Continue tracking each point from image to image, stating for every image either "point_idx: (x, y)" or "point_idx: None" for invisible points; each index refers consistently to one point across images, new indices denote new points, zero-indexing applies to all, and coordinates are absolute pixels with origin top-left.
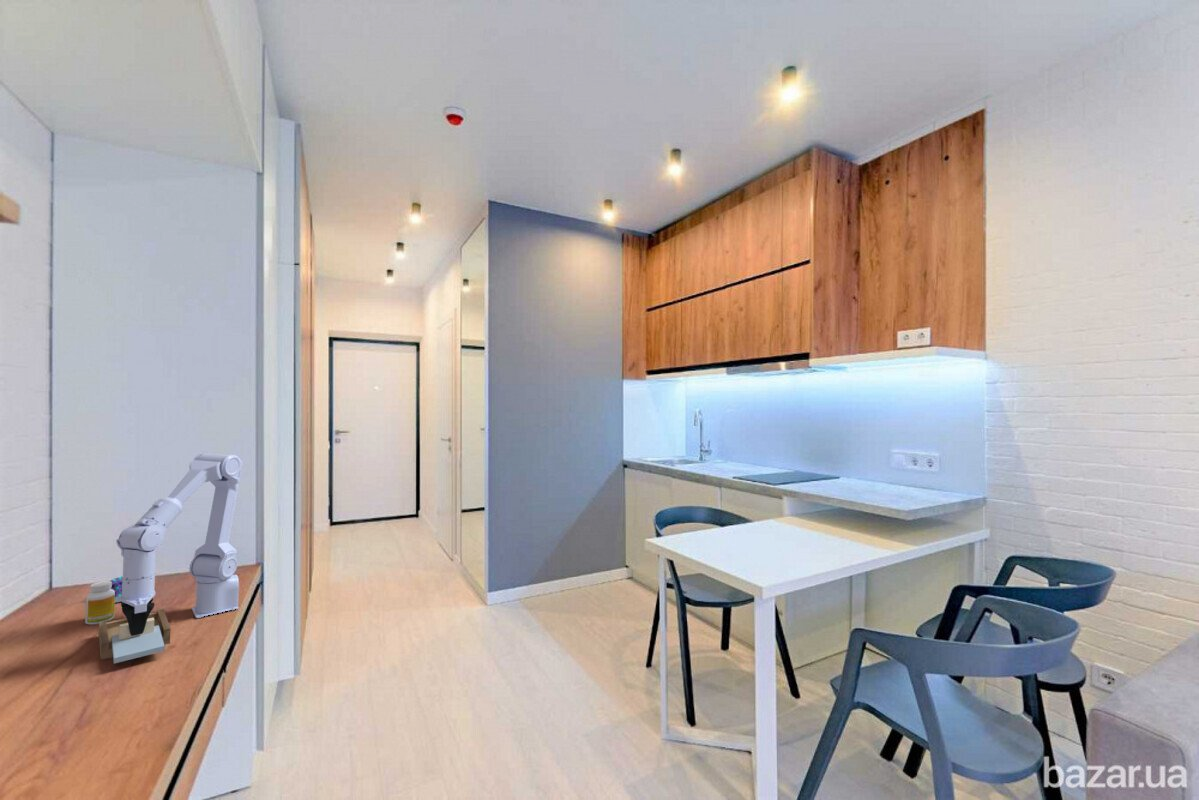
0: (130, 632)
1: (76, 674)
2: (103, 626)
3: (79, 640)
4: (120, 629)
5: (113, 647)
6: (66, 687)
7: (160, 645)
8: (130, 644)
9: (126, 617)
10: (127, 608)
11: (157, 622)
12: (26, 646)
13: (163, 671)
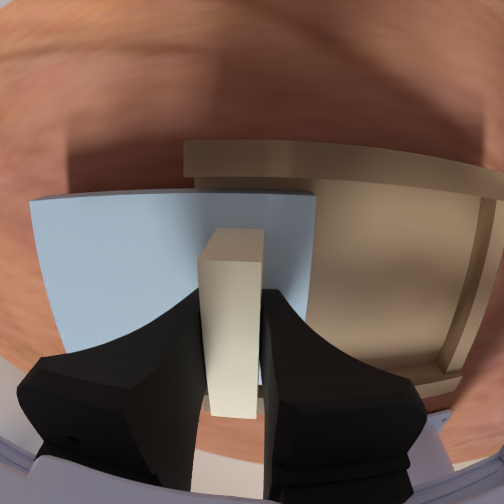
0: (191, 294)
1: (120, 72)
2: (471, 181)
3: (482, 111)
4: (202, 256)
5: (130, 197)
6: (45, 69)
7: (73, 349)
8: (124, 268)
9: (93, 348)
10: (60, 424)
11: (391, 364)
12: (501, 9)
13: (21, 306)
